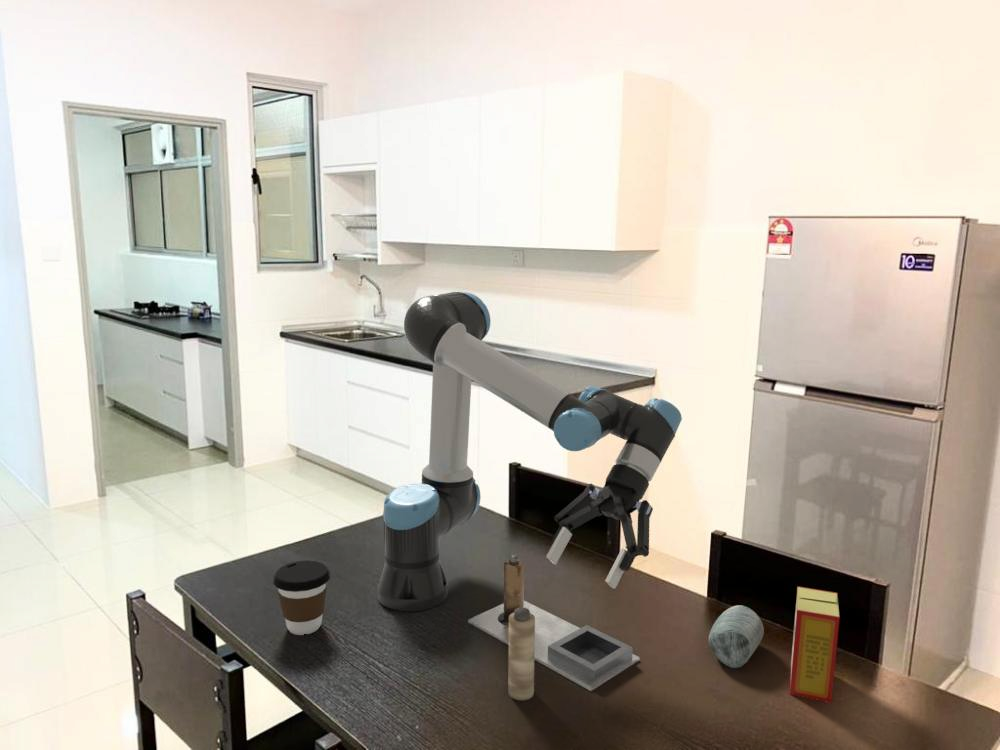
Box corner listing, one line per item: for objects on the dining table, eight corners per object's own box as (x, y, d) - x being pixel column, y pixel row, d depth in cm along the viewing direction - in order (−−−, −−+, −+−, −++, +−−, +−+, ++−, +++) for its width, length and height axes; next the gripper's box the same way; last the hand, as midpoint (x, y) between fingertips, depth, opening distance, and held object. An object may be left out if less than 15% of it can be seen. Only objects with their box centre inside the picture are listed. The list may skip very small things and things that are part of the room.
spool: (756, 667, 133) (738, 608, 136) (706, 674, 138) (690, 618, 141) (781, 652, 144) (765, 598, 146) (735, 659, 149) (719, 607, 152)
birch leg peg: (502, 692, 131) (503, 610, 128) (520, 682, 134) (521, 602, 131) (521, 703, 128) (522, 620, 125) (539, 693, 131) (540, 611, 128)
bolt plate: (468, 622, 154) (467, 556, 151) (517, 599, 163) (517, 537, 161) (590, 691, 131) (593, 615, 129) (639, 660, 141) (642, 589, 138)
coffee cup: (265, 627, 152) (262, 571, 149) (312, 608, 159) (309, 554, 157) (295, 648, 144) (292, 589, 142) (343, 626, 152) (341, 570, 150)
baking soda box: (831, 703, 128) (839, 615, 125) (789, 694, 131) (797, 608, 128) (829, 673, 137) (837, 590, 134) (790, 665, 139) (797, 584, 136)
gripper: (697, 499, 137) (645, 605, 130) (588, 468, 154) (538, 560, 147) (682, 478, 132) (628, 586, 125) (572, 449, 150) (519, 542, 142)
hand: (579, 572), depth 136 cm, fingers open, 13 cm apart
